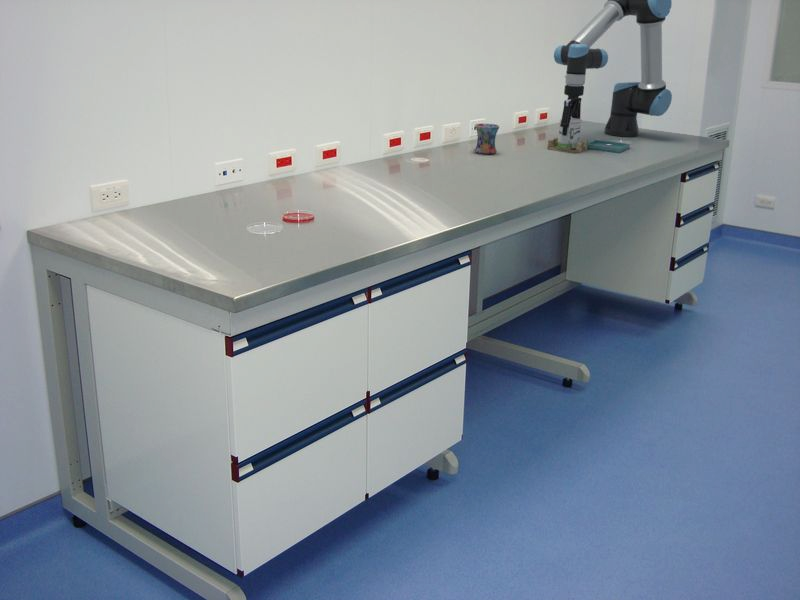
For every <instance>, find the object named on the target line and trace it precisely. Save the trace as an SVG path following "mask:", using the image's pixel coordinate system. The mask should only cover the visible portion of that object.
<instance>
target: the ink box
mask: <svg viewBox="0 0 800 600" xmlns="http://www.w3.org/2000/svg"><path fill="white" fill-rule="evenodd" d="M561 120H562V118H560V119H559V126H558V127H559V128H558V136H557V137H558V146H557V147H556V148H562V149H569V150H576V144H578V143H580V136H581V129H582V128H581V127H582V119H581V118H580V119H577V118H572V116H571V120H570V124H569V127H570V128H569V137H568V144H563V143H561V136H562V127H560V125H561Z"/></svg>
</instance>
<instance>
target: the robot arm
mask: <svg viewBox="0 0 800 600" xmlns="http://www.w3.org/2000/svg"><path fill="white" fill-rule="evenodd" d="M672 5H673V4H672V0H607V1H606V2H605V3H604V5H603V8H602V9H601V10H600V11H599V12H598V13H597V14H596V15H595V16H594V17H593V18H592V19H591V20H590V21H589V22H588V23H587V24H586V25H585V26H584V27H583V28H582V29H581V30H580V31H579V32H578V33H577V34H576V35H575V36H574V37H573V38H572V39H571V40H570V41H569V42H568V43H567V44H566V45H565V44H562V45H558V46H557V47H556V48H555V50H554V53H553V59H554V62H555V63H557V64H558V65H562V66H566V73H565V75H564V78H565V85H564V91H563V94H564V95H565V96H567V99H566V100H564V101H563V110H562V115H561V119H562V120H561V125H560V124H559V126H560V127H562V136H561V143H563V144H568V137H569V128H570V127H569V124H570V120H571V117H572V118H577V119H581V111H582V109H581V106H582V97H581V96H583V95H584V91H585V86H584V85H585V84H586V83H585V82H586V74H587V73H586V71H587V70H588V69H591V70H593V69H596V70H598V69H602V68H604V67H605V66H607V64H608V61H609V55H608V52H607V51H606V50H605V49H604V48H591V47H592V46H593V45H594V44H595V43H596V42H597V41H598V40H599V39H600V38H601V37H602V36H603V35H604V34H605V33H606V32H607V31H608V30H609V29H610V28H611V27H612V26H613V25H614V23H616V22H619V21H621V20H622V19H623V18H624V17H628V16H634V17H636V18H635V19H636V24H638V25H639V29H640V31H639V32H640V71H641V72H640V73H641V74H640V75H641V76H640V77H641V78H640V79H641V80H640V81H633V82H629V81H628V82H617V83H615V84H614V86H613V92H612V98H611V99H612V100H611V108H610V116H609V118H608V120H607V122H606V124H605V127H604V131H603V133H604V134H606V135H609V136H616V137H631V138H632V137H638V136H639V131H640V130H639V125H638V119H637V117H638V114H643V115H645V116H647V115H648V116H655V117H660V116H663V115H664V114H665V113H667V112H668V109H669V108H670V106H671V103H672V98H673V97H672V96H673V95H672V92H671V90H669V89H667V83H666V81H664V80H663V40H662V39H663V32H662V31H663V30H662V28H663V27H662V24H663V23H664V22H665V21H666V17H667V16H668V15H669V14H670V12H671V8H672Z"/></svg>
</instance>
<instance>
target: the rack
mask: <svg viewBox="0 0 800 600" xmlns="http://www.w3.org/2000/svg"><path fill="white" fill-rule="evenodd" d="M588 142H589V141H588V140H584V141H581V142H579V143H578V144H576V148H575V149H562V148H557V146H558V136H557V137H554V138H552V139H549V140H547V150H549V151H557V152H564V153H571V154H579V153H582V152H583V151H586V150H588V149H587V145H588Z"/></svg>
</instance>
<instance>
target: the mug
mask: <svg viewBox="0 0 800 600" xmlns="http://www.w3.org/2000/svg"><path fill="white" fill-rule="evenodd" d="M474 126H475V129H476V133H477V142H476V145H475V148H474V151H475V152H476V153H477V154H482V155H492V154H496V152H497V149H496V137H497V134H498V132H499V129H500V125H498V124H494V123H476V124H475V125H474Z"/></svg>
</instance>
